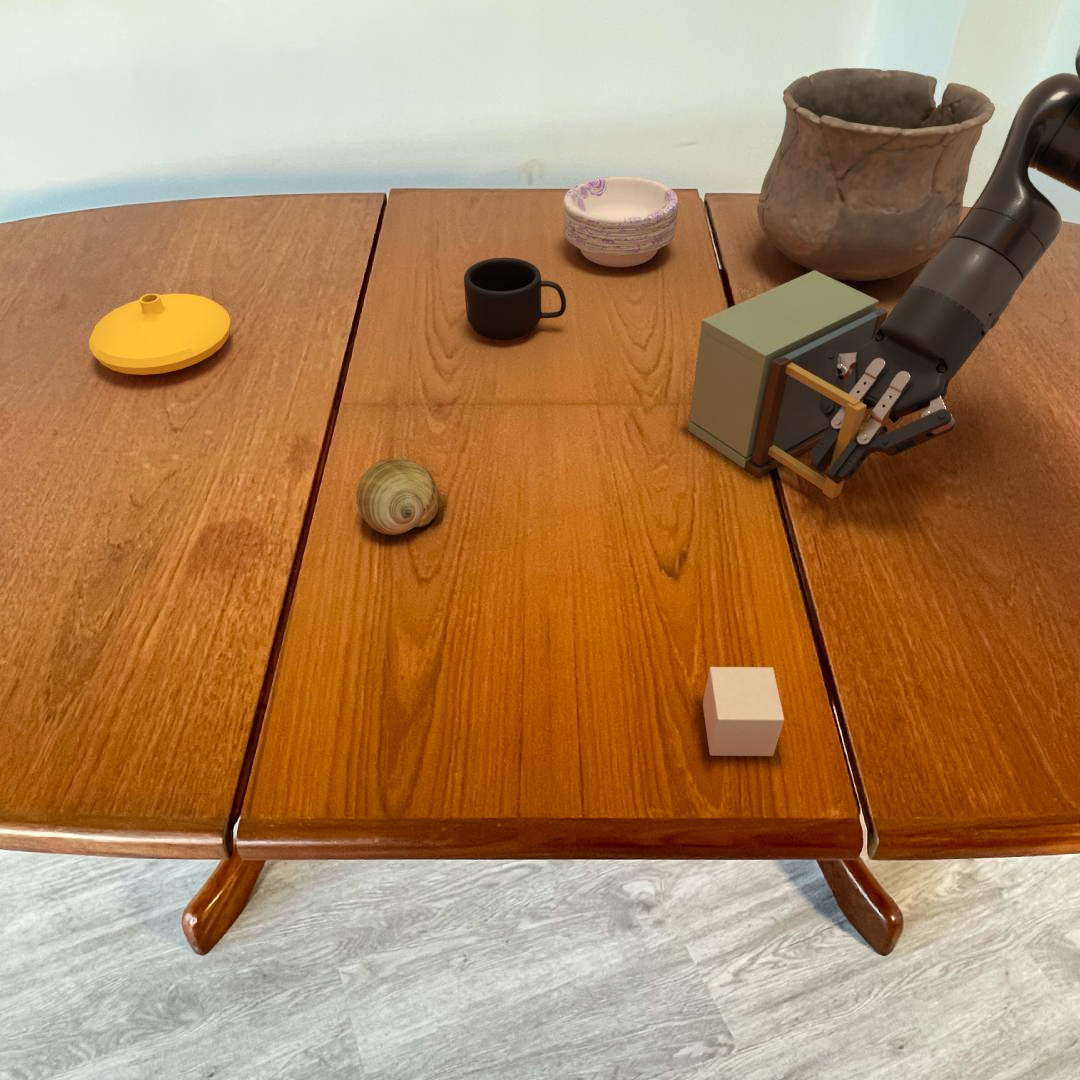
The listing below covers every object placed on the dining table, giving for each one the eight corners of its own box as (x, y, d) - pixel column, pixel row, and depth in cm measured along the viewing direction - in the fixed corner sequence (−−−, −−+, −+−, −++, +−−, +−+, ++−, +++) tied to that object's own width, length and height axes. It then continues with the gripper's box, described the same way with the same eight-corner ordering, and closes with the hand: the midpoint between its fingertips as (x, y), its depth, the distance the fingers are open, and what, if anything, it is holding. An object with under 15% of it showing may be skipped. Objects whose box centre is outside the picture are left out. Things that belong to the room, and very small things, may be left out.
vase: (217, 389, 98) (200, 334, 93) (77, 391, 98) (52, 336, 93) (250, 317, 110) (236, 264, 105) (124, 319, 110) (104, 266, 105)
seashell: (386, 521, 88) (323, 487, 83) (426, 464, 88) (366, 425, 82) (428, 565, 81) (363, 531, 76) (472, 503, 81) (409, 464, 75)
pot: (920, 230, 125) (969, 66, 111) (960, 313, 108) (1024, 132, 94) (742, 224, 127) (767, 62, 112) (755, 305, 110) (786, 127, 96)
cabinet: (862, 419, 93) (895, 308, 84) (758, 478, 86) (781, 364, 77) (790, 377, 99) (814, 269, 90) (687, 430, 92) (702, 319, 83)
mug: (461, 346, 104) (456, 291, 99) (474, 308, 111) (470, 254, 106) (561, 351, 103) (562, 296, 98) (569, 313, 110) (570, 259, 105)
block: (762, 704, 67) (773, 666, 64) (773, 756, 64) (784, 720, 60) (702, 703, 67) (709, 666, 64) (709, 756, 64) (717, 719, 61)
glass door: (925, 447, 88) (962, 347, 80) (825, 510, 81) (854, 407, 73) (851, 405, 93) (879, 307, 85) (752, 461, 86) (772, 360, 78)
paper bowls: (580, 223, 128) (581, 168, 123) (683, 236, 125) (689, 180, 119) (548, 270, 118) (548, 212, 112) (660, 286, 114) (665, 227, 109)
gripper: (871, 258, 76) (751, 425, 79) (1016, 322, 68) (875, 505, 71) (893, 295, 82) (780, 449, 85) (1028, 358, 74) (898, 525, 77)
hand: (824, 474), depth 78 cm, fingers closed
